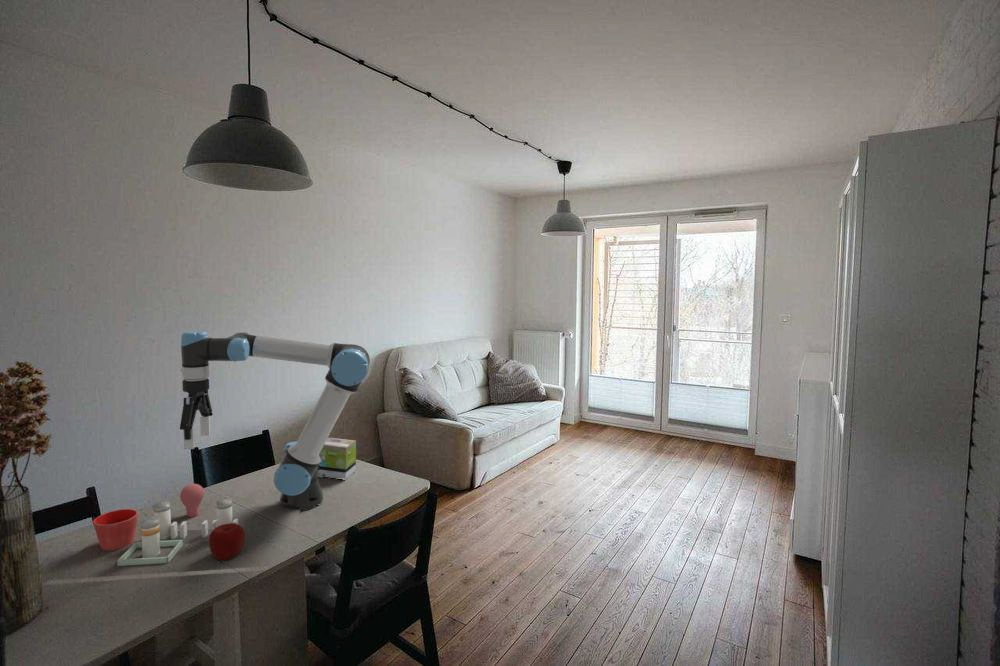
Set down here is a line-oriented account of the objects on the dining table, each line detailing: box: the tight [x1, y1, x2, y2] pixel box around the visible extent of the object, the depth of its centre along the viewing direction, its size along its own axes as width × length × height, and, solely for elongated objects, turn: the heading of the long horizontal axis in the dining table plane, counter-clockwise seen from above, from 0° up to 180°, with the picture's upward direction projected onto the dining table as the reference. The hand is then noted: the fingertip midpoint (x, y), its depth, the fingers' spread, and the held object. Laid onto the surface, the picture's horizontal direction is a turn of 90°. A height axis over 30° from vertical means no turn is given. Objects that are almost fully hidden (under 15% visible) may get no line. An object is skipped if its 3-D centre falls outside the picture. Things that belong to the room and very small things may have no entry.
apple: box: [208, 523, 246, 561], centre depth 153 cm, size 10×10×10 cm
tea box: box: [318, 436, 357, 479], centre depth 218 cm, size 15×10×15 cm
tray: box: [116, 540, 184, 567], centre depth 152 cm, size 13×10×2 cm
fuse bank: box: [165, 518, 239, 544], centre depth 163 cm, size 27×8×6 cm, turn 101°
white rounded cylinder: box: [215, 498, 234, 527], centre depth 164 cm, size 4×4×11 cm
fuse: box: [152, 500, 172, 541], centre depth 161 cm, size 4×4×11 cm
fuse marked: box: [140, 516, 161, 558], centre depth 152 cm, size 5×5×11 cm
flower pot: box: [92, 508, 139, 551], centre depth 157 cm, size 11×11×10 cm
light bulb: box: [179, 483, 205, 518], centre depth 176 cm, size 7×7×12 cm
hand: (197, 441), depth 170 cm, fingers open, 13 cm apart
